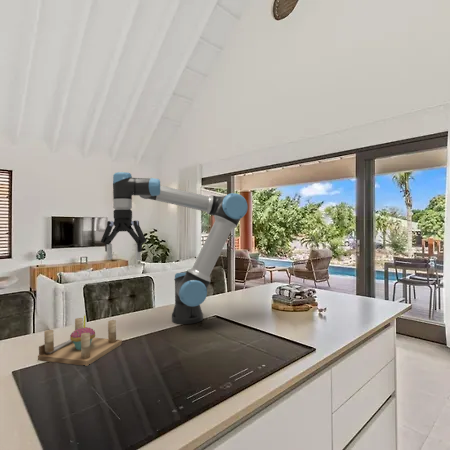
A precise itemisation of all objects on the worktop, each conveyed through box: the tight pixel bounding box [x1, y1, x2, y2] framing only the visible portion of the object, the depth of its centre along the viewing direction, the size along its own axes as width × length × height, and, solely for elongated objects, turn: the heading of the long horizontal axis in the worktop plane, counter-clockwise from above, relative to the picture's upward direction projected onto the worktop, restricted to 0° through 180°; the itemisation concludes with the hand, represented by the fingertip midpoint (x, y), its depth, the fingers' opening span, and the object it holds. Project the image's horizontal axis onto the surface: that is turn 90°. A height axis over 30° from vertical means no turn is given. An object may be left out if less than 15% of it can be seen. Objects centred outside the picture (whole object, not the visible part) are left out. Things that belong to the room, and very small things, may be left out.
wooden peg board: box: [37, 317, 123, 367], centre depth 119 cm, size 20×20×10 cm
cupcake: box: [69, 315, 96, 350], centre depth 119 cm, size 9×8×12 cm
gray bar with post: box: [43, 329, 73, 353], centre depth 119 cm, size 3×14×8 cm, turn 165°
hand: (123, 259), depth 137 cm, fingers open, 13 cm apart
